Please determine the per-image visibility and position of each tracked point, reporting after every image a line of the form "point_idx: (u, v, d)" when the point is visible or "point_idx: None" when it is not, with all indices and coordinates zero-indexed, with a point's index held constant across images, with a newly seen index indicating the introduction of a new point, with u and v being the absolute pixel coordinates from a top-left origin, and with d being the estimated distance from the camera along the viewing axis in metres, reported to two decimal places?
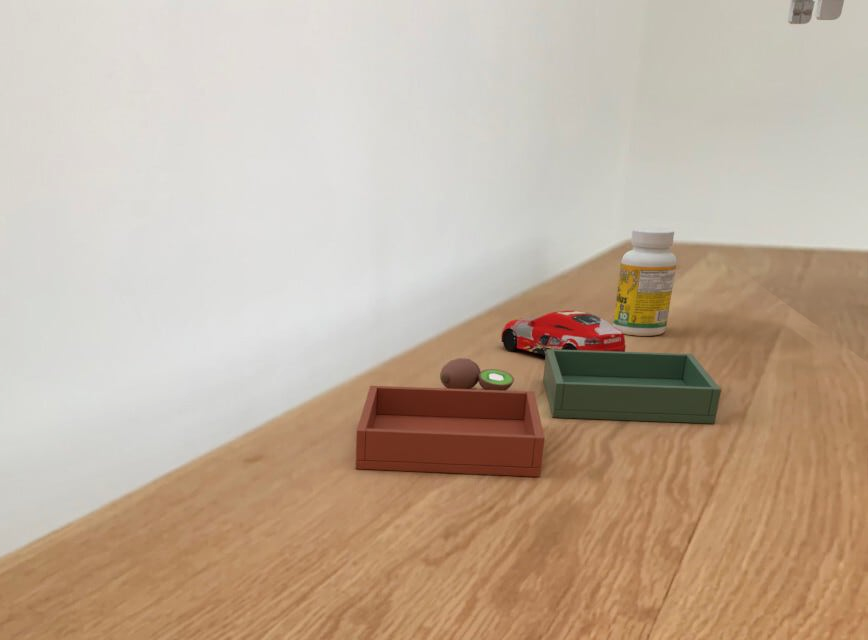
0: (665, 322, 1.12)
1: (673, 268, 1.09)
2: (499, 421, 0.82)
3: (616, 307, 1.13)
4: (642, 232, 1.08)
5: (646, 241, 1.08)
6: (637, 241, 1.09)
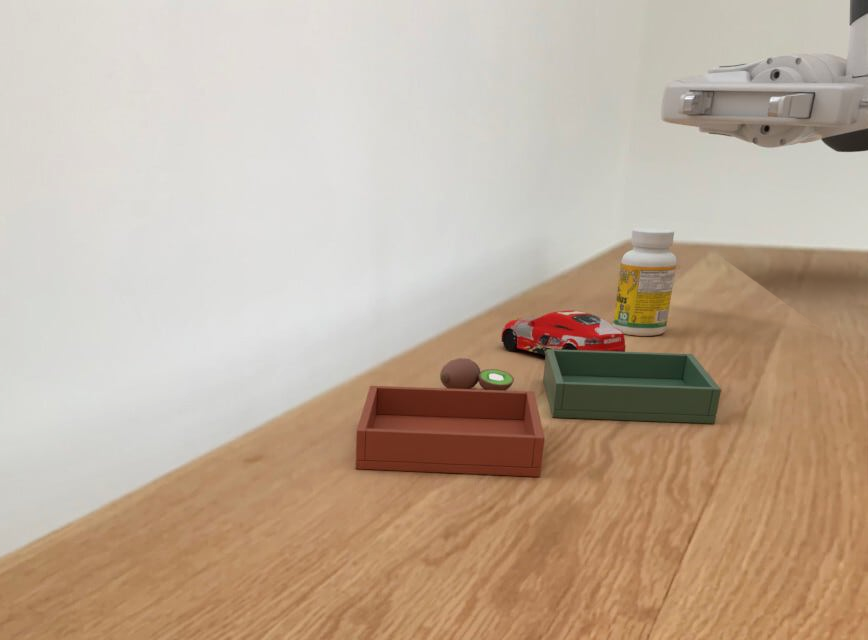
0: (665, 322, 1.12)
1: (673, 268, 1.09)
2: (499, 421, 0.82)
3: (616, 307, 1.13)
4: (642, 232, 1.08)
5: (646, 241, 1.08)
6: (637, 241, 1.09)
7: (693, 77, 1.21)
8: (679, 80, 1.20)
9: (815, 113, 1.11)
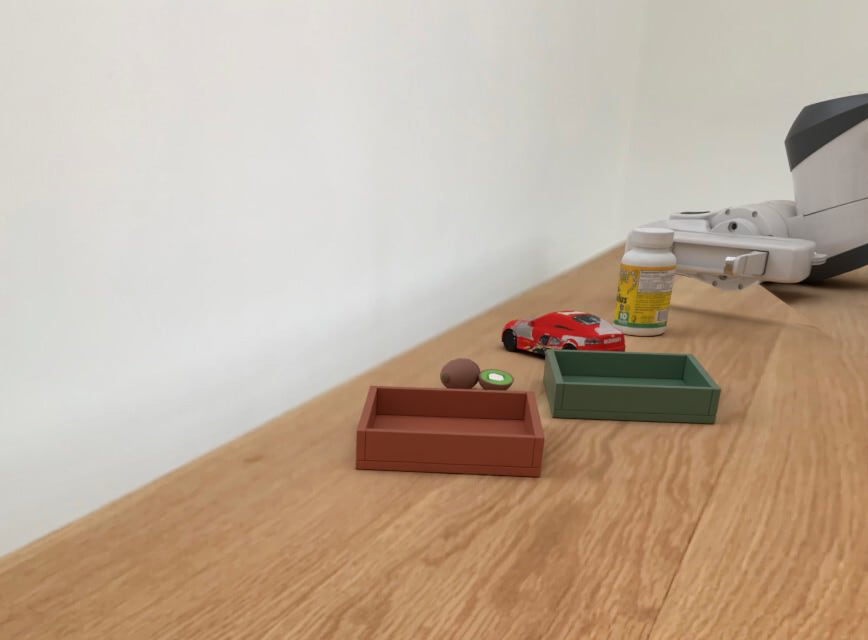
0: (665, 322, 1.12)
1: (673, 268, 1.09)
2: (499, 421, 0.82)
3: (616, 307, 1.13)
4: (642, 232, 1.08)
5: (646, 241, 1.08)
6: (637, 241, 1.09)
7: (655, 223, 1.27)
8: (642, 227, 1.26)
9: (769, 270, 1.17)
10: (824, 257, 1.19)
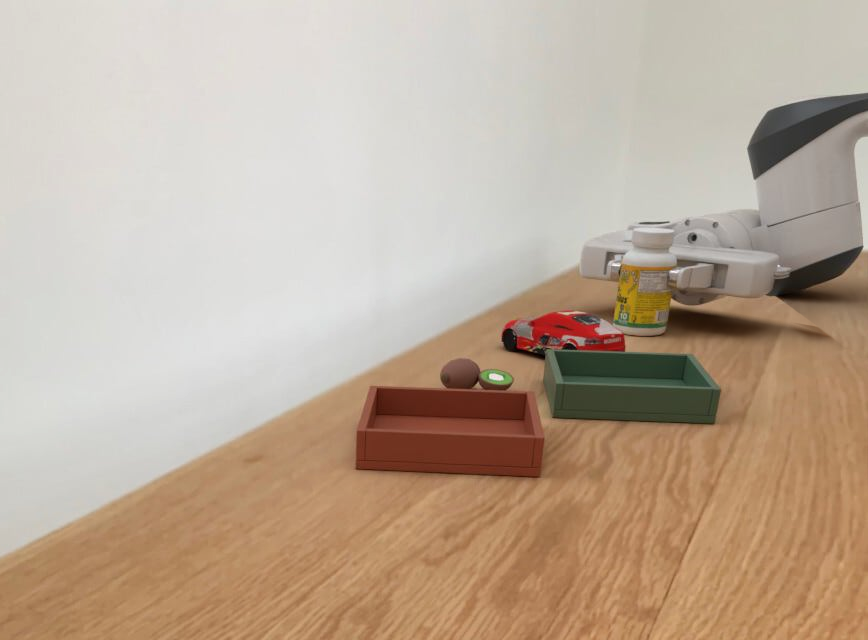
0: (665, 322, 1.12)
1: None
2: (499, 421, 0.82)
3: (616, 307, 1.13)
4: (642, 232, 1.08)
5: (646, 241, 1.08)
6: (638, 241, 1.09)
7: (612, 234, 1.20)
8: (597, 238, 1.19)
9: (729, 284, 1.10)
10: (787, 270, 1.12)
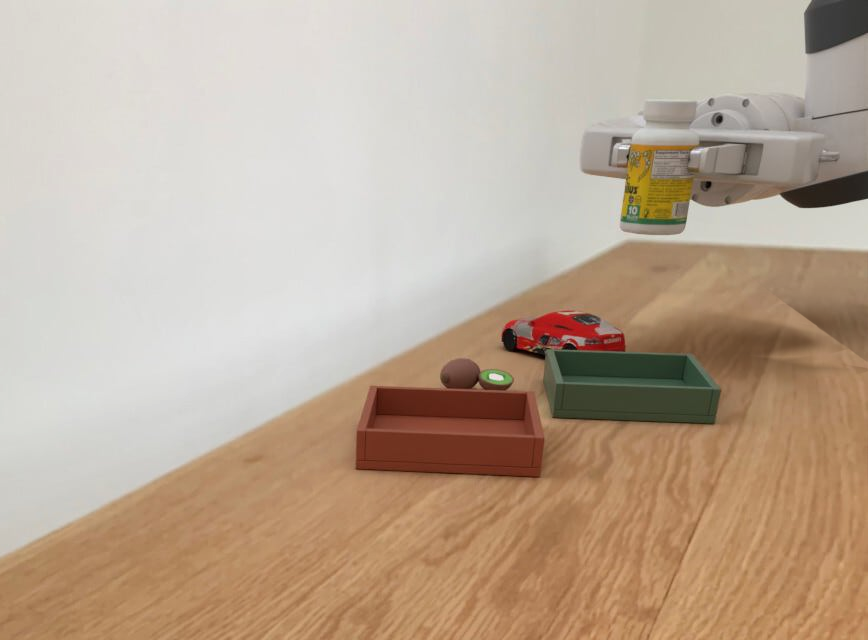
0: (684, 218, 0.91)
1: None
2: (499, 421, 0.82)
3: (624, 200, 0.92)
4: (657, 101, 0.87)
5: (662, 113, 0.87)
6: (651, 114, 0.87)
7: (619, 120, 0.99)
8: (601, 123, 0.98)
9: (764, 169, 0.89)
10: (836, 155, 0.91)
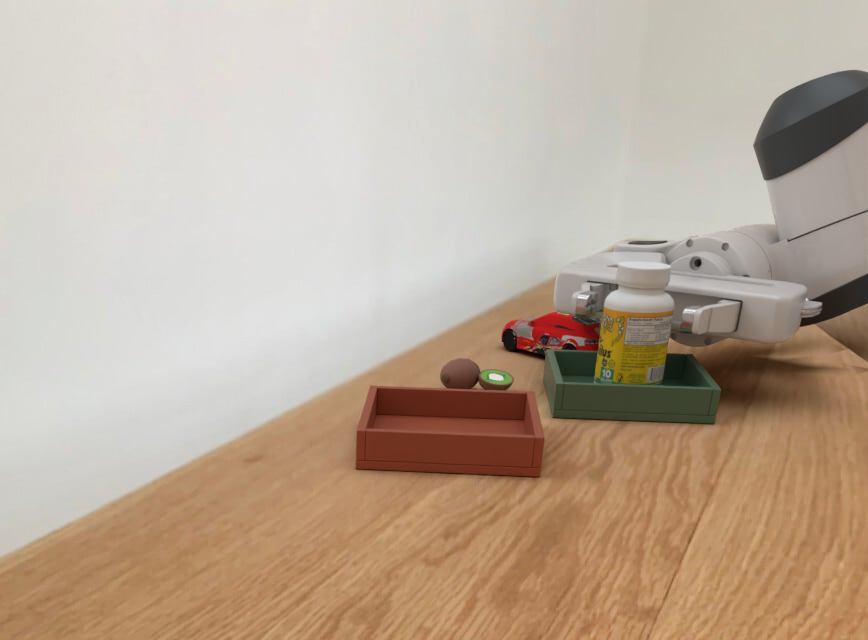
0: (660, 381, 0.88)
1: (670, 314, 0.85)
2: (499, 421, 0.82)
3: (598, 362, 0.89)
4: (630, 268, 0.84)
5: (635, 280, 0.84)
6: (624, 280, 0.85)
7: (595, 257, 0.96)
8: (576, 263, 0.94)
9: (743, 326, 0.85)
10: (818, 307, 0.88)
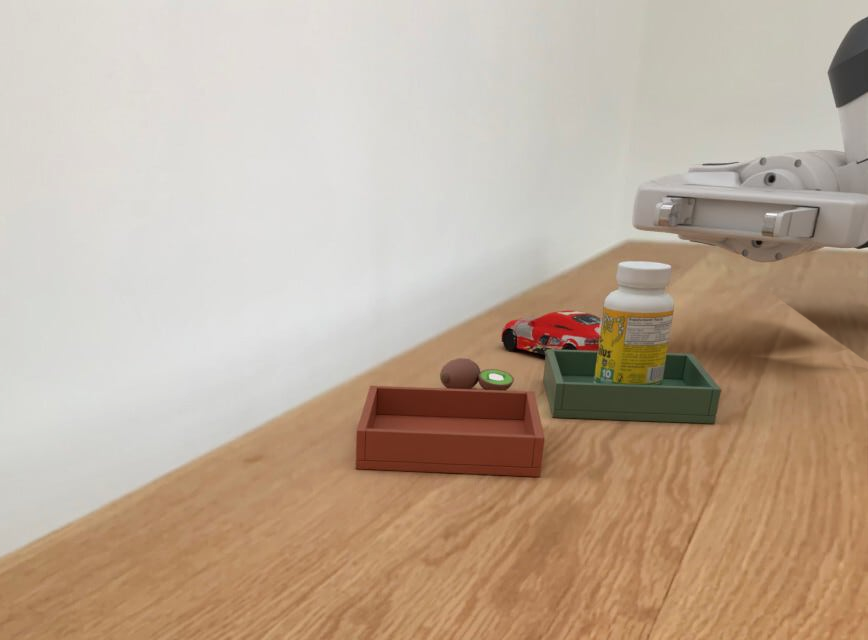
0: (660, 381, 0.88)
1: (670, 314, 0.85)
2: (499, 421, 0.82)
3: (598, 362, 0.89)
4: (630, 268, 0.84)
5: (635, 280, 0.84)
6: (624, 280, 0.85)
7: (671, 177, 1.01)
8: (654, 181, 1.00)
9: (820, 231, 0.91)
10: None
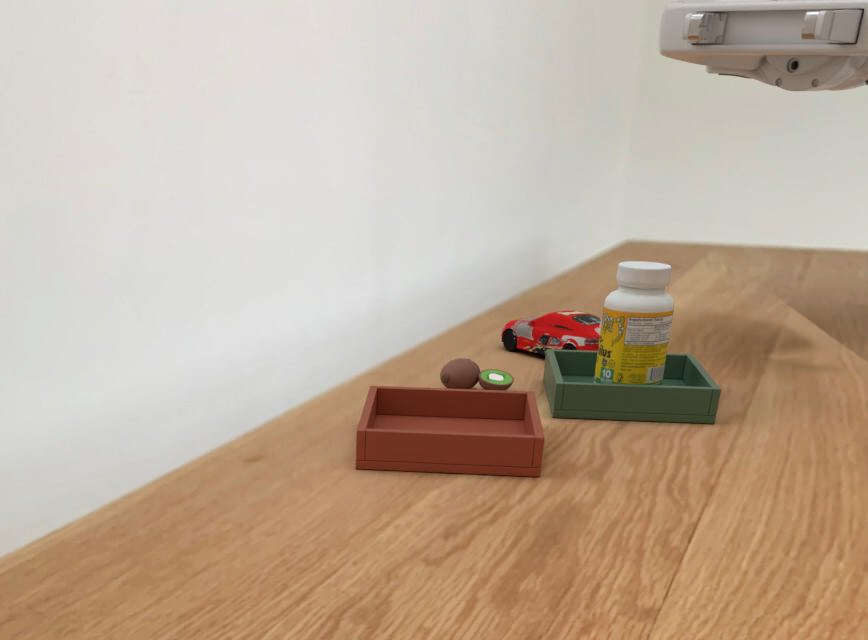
0: (660, 381, 0.88)
1: (670, 314, 0.85)
2: (499, 421, 0.82)
3: (598, 362, 0.89)
4: (630, 268, 0.84)
5: (635, 280, 0.84)
6: (624, 280, 0.85)
7: None
8: (682, 1, 0.93)
9: (864, 36, 0.84)
10: None
